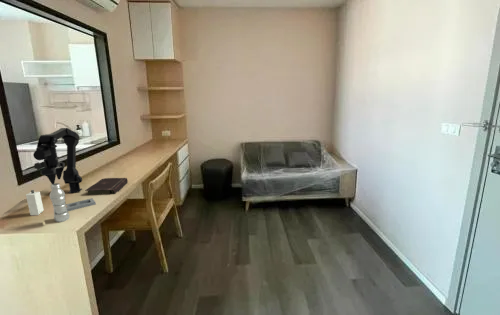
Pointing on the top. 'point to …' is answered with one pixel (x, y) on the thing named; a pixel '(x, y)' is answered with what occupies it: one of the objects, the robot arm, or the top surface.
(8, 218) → the top surface
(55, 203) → the plastic bottle
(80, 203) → the power strip
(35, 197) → the charger
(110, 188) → the diary
